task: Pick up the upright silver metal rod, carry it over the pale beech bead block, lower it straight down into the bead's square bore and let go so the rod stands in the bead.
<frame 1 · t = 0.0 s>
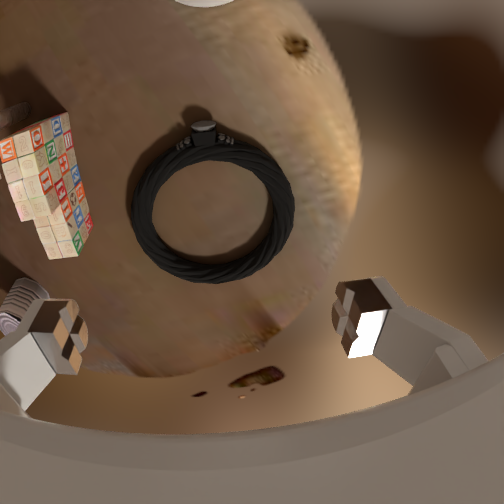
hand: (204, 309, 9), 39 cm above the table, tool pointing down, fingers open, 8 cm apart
silver metal rod: (24, 110, 33), on the table
stack of blocks: (65, 174, 42), on the table
cable lock: (212, 206, 50), on the table
can: (32, 294, 55), on the table
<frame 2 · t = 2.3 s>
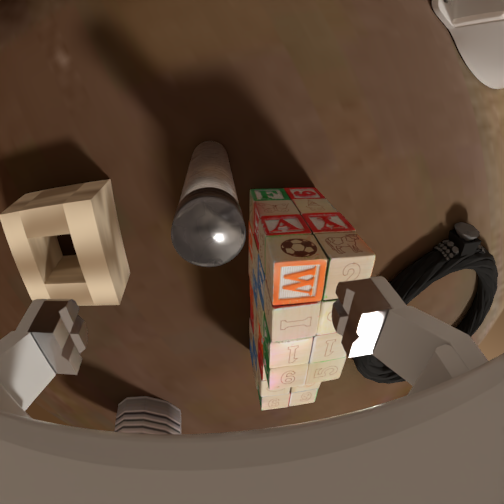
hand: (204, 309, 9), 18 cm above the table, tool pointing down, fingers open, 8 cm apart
bead: (75, 233, 26), on the table
silver metal rod: (209, 157, 24), on the table
stack of blocks: (277, 281, 32), on the table
cable lock: (429, 307, 39), on the table
can: (150, 411, 44), on the table
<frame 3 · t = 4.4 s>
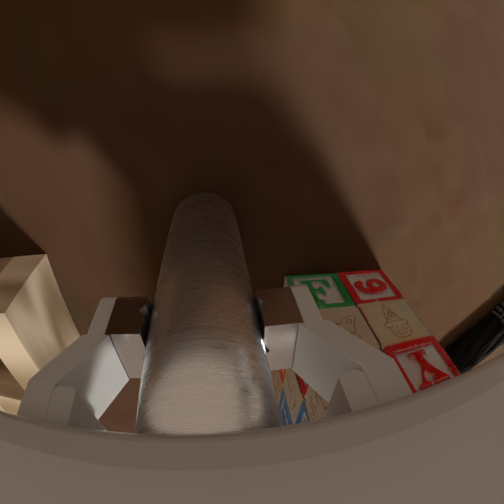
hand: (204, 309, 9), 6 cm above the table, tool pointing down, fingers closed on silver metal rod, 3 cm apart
bead: (18, 321, 15), on the table
silver metal rod: (204, 222, 14), on the table, touching gripper
stack of blocks: (306, 379, 22), on the table
cable lock: (468, 368, 29), on the table
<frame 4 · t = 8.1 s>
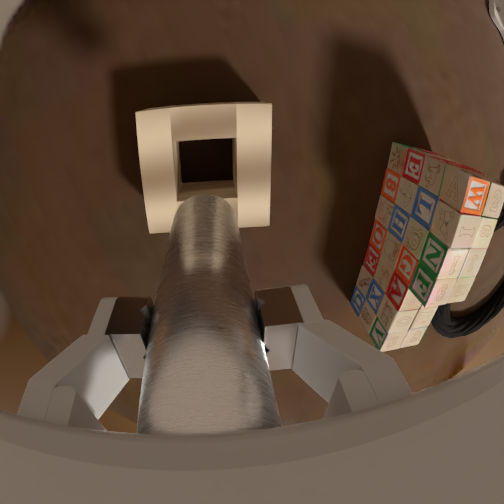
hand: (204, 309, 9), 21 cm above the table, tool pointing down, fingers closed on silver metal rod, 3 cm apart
bead: (206, 156, 26), on the table
silver metal rod: (205, 224, 14), point 14 cm above the table, touching gripper
stack of blocks: (391, 230, 33), on the table
cable lock: (484, 262, 40), on the table
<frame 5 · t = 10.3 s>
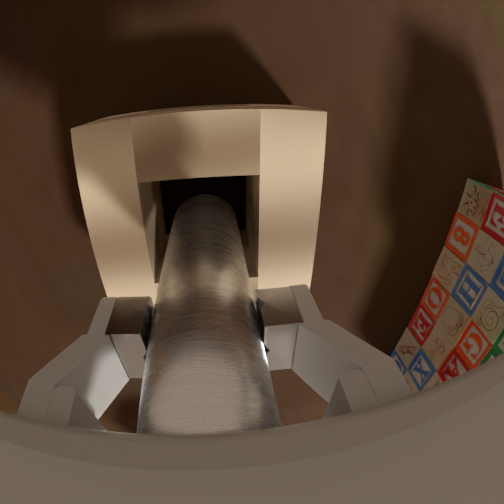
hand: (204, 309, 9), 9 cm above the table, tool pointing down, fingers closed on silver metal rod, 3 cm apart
bead: (203, 193, 17), on the table
silver metal rod: (205, 224, 14), point 3 cm above the table, touching gripper
stack of blocks: (444, 285, 24), on the table
when the fingers open (8 cm above the table, at t = 11.8 s): silver metal rod drops 2 cm, resting in bead.
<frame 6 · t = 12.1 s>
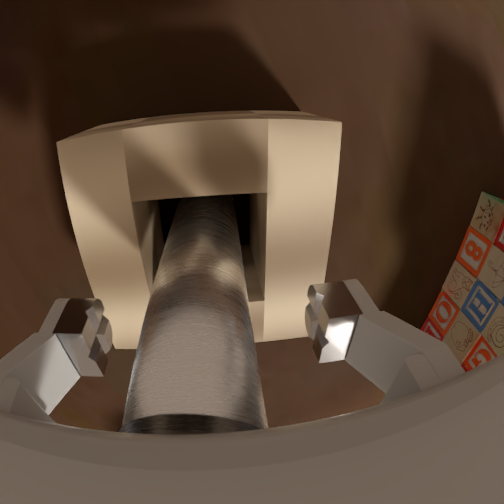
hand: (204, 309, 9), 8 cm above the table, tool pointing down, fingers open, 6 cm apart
bead: (204, 207, 16), on the table
silver metal rod: (206, 209, 16), resting in bead
stack of blocks: (452, 299, 23), on the table
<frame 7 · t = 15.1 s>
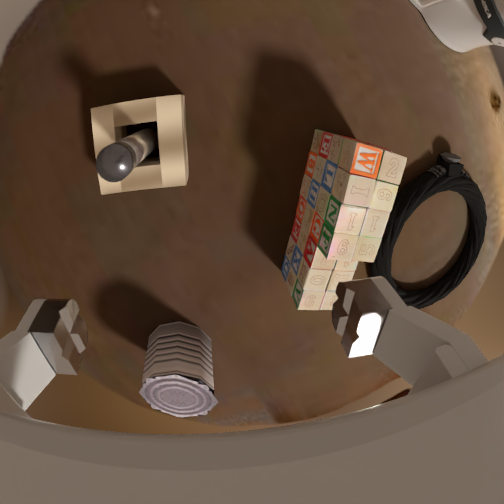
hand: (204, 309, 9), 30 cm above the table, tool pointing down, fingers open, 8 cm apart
bead: (146, 139, 33), on the table
silver metal rod: (147, 140, 33), resting in bead
stack of blocks: (317, 206, 41), on the table
cable lock: (430, 233, 46), on the table
can: (180, 343, 50), on the table
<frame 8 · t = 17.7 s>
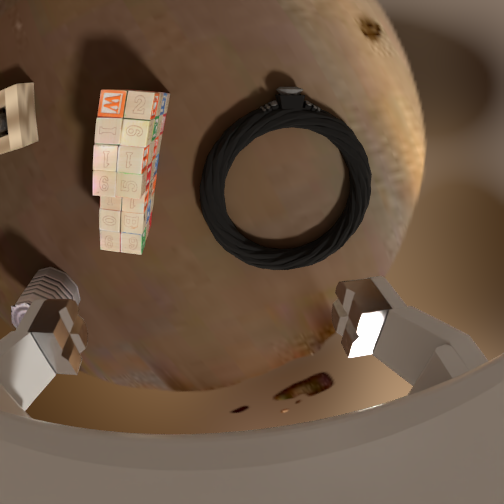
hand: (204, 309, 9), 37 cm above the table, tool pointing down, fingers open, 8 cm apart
bead: (13, 119, 33), on the table
silver metal rod: (13, 119, 33), resting in bead
stack of blocks: (139, 159, 41), on the table
cable lock: (287, 181, 46), on the table
can: (56, 289, 50), on the table
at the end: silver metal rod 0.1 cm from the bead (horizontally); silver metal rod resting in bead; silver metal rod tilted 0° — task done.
